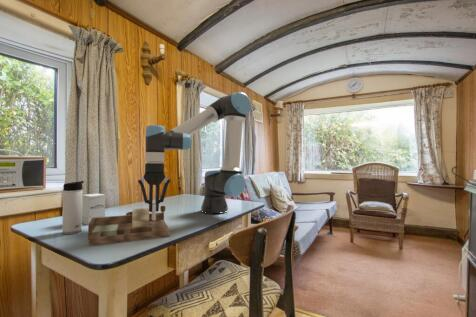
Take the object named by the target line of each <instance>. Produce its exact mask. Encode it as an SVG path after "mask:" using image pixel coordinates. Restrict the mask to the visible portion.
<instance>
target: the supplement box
mask: <svg viewBox="0 0 476 317" xmlns="http://www.w3.org/2000/svg"><path fill="white" fill-rule="evenodd" d="M96 217H106V193H105V194H104V193H88V194H82V224H84V225H87V226H88V224H89V223H90V221H91V219H92V218H96Z"/></svg>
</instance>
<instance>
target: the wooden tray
mask: <svg viewBox="0 0 476 317" xmlns="http://www.w3.org/2000/svg"><path fill="white" fill-rule="evenodd" d="M87 226H88V227H87V229H88V230H87V231H88V232H87V239H88V246H89V247H92V246H99V245H109V244H116V243H119V244H120V243H126V242H134V241H135V242H136V241H143V240H153V239H159V238H169V237H170V229H169V227H168V224H167V223H166V221H165V212H163V213H162V212H156V220H152V212H149V226H143V227H133V228H132V215H126V214H124V215H112V216H111V215H110V216H105V217H96V218H92V219H91V221H90V223H89V224H88V225H87ZM152 238H153V239H152Z"/></svg>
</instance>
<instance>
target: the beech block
mask: <svg viewBox="0 0 476 317" xmlns="http://www.w3.org/2000/svg"><path fill="white" fill-rule="evenodd" d="M131 212H132V228H133V227H143V226H149V213H150V212H149V207H143V208H132V210H131Z"/></svg>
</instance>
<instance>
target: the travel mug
mask: <svg viewBox="0 0 476 317" xmlns="http://www.w3.org/2000/svg"><path fill="white" fill-rule="evenodd" d="M84 183H85V182H84V180H81V181H75V182H67V183H64V184H63V187H62V190H63V193H62V227H61V229H62V231H61V233H62V234H63V235H66V236H67V235H68V236H69V235H76V234H79V233H81V232H83V231H82V230H83V227H82V226H83V223H82V195H83V193H84V192H83V190H84V189H83V184H84Z"/></svg>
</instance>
